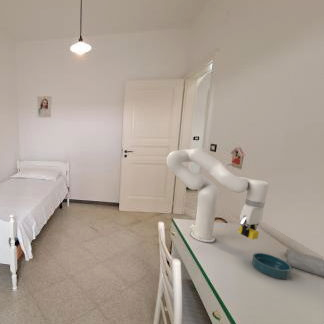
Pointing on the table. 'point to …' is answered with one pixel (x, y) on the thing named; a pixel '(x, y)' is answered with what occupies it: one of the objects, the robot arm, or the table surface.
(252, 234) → the sponge
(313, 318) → the table surface
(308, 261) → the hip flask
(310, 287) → the table surface
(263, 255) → the bowl
